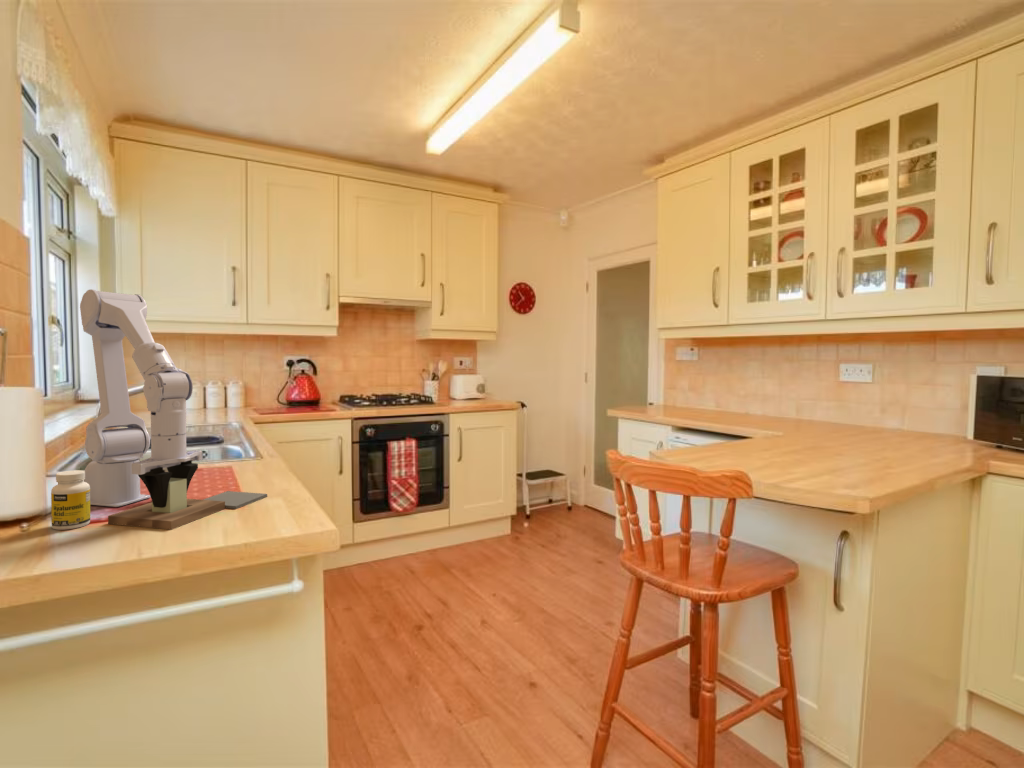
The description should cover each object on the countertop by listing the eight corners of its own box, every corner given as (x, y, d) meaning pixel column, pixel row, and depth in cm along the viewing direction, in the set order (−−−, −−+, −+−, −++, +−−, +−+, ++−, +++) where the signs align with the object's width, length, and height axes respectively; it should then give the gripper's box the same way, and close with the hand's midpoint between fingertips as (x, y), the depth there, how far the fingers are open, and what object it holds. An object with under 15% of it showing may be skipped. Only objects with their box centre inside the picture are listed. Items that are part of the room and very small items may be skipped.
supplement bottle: (47, 532, 91) (45, 476, 90) (57, 523, 95) (55, 470, 95) (86, 528, 93) (85, 474, 93) (94, 519, 98) (93, 468, 97)
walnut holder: (108, 523, 96) (108, 515, 96) (168, 504, 109) (168, 497, 109) (171, 529, 93) (171, 521, 93) (225, 508, 106) (225, 501, 106)
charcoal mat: (193, 505, 108) (193, 502, 108) (227, 493, 118) (227, 491, 118) (236, 509, 106) (236, 506, 106) (267, 496, 116) (267, 493, 116)
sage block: (152, 518, 99) (151, 482, 99) (169, 512, 103) (168, 477, 103) (170, 519, 99) (169, 483, 98) (186, 513, 103) (186, 478, 102)
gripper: (154, 440, 92) (155, 515, 93) (214, 430, 107) (215, 495, 107) (120, 438, 94) (122, 513, 94) (184, 428, 108) (185, 493, 109)
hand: (169, 503), depth 101 cm, fingers closed on sage block, 4 cm apart
